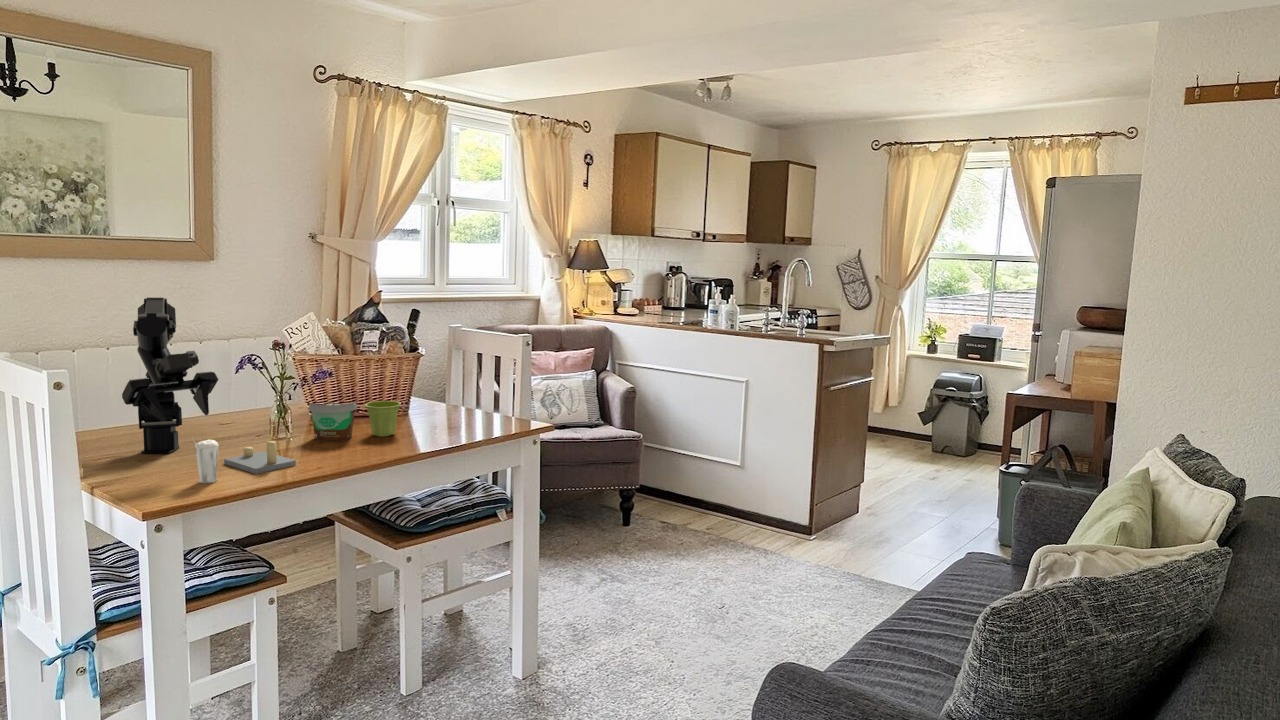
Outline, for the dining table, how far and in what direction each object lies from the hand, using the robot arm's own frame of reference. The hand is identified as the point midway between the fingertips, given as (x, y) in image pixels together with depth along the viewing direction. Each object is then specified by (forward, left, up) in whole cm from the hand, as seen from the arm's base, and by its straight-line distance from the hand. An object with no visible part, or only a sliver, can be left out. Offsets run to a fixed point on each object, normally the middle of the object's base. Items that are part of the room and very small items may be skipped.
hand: (186, 417), depth 182 cm
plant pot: (+35, +41, -13) cm, 56 cm away
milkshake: (+5, -5, -13) cm, 15 cm away
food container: (+23, +34, -13) cm, 44 cm away
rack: (+12, +9, -13) cm, 20 cm away
